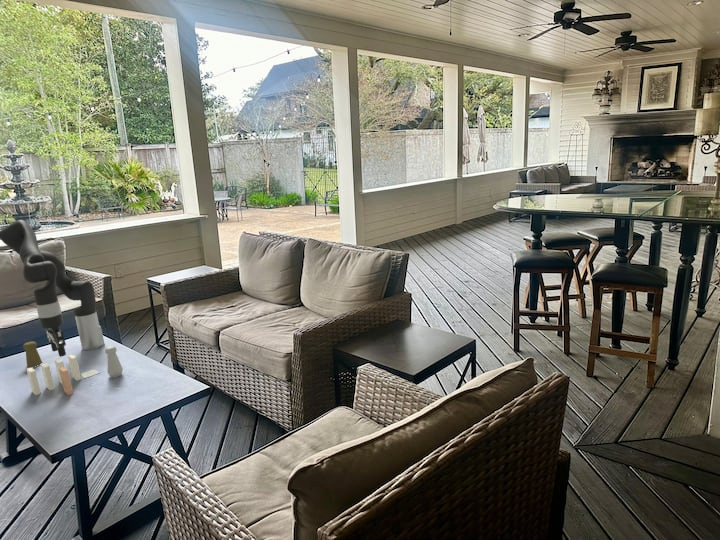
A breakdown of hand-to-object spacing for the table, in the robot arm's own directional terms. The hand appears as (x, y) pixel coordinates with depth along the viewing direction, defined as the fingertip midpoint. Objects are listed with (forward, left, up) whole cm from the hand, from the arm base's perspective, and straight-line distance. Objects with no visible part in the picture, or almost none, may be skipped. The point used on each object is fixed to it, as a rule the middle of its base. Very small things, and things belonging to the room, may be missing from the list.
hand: (59, 353), depth 193 cm
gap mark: (-12, -11, -17) cm, 23 cm away
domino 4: (0, 0, -17) cm, 17 cm away
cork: (+1, -44, -17) cm, 47 cm away
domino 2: (+3, -11, -17) cm, 20 cm away
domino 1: (+8, -11, -17) cm, 22 cm away
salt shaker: (-18, +1, -17) cm, 25 cm away
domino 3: (-2, -11, -17) cm, 20 cm away
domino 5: (-7, -11, -17) cm, 21 cm away
